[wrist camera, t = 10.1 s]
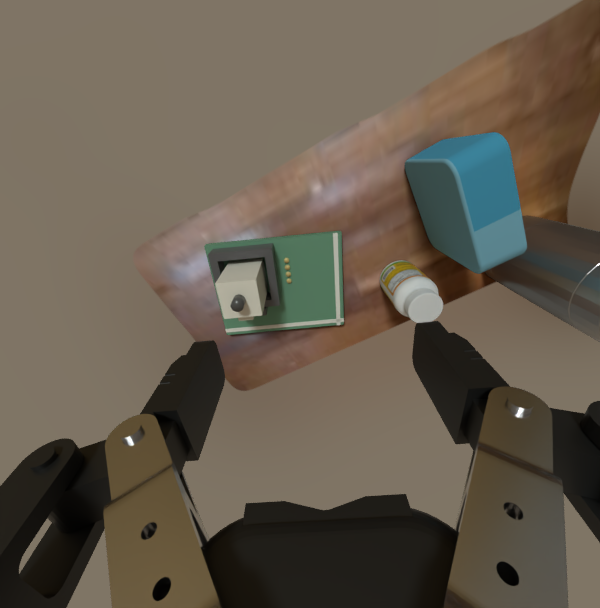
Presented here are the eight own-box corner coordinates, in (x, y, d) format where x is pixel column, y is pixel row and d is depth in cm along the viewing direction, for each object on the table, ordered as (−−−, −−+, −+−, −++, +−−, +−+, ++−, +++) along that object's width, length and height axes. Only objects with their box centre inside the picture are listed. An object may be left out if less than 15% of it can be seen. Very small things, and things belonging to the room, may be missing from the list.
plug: (263, 257, 37) (254, 285, 29) (269, 294, 40) (262, 329, 31) (229, 260, 38) (211, 289, 29) (237, 297, 40) (223, 333, 32)
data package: (463, 230, 37) (531, 257, 27) (430, 246, 38) (483, 279, 28) (437, 139, 32) (508, 128, 22) (401, 160, 33) (451, 160, 23)
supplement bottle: (415, 291, 41) (448, 325, 33) (379, 296, 42) (401, 332, 33) (417, 256, 39) (452, 284, 30) (378, 262, 39) (402, 291, 31)
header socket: (287, 241, 37) (286, 246, 34) (294, 304, 41) (294, 312, 39) (212, 248, 37) (207, 254, 35) (227, 310, 41) (223, 319, 39)
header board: (340, 230, 37) (341, 232, 36) (342, 321, 43) (343, 324, 42) (206, 243, 37) (204, 246, 36) (228, 331, 44) (226, 335, 43)
